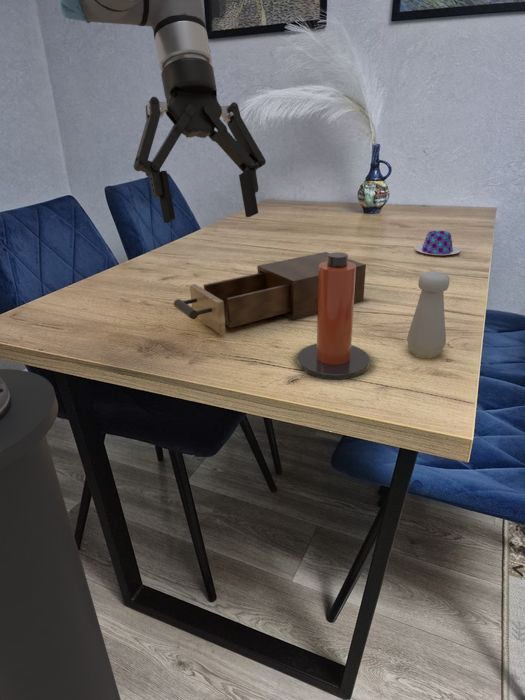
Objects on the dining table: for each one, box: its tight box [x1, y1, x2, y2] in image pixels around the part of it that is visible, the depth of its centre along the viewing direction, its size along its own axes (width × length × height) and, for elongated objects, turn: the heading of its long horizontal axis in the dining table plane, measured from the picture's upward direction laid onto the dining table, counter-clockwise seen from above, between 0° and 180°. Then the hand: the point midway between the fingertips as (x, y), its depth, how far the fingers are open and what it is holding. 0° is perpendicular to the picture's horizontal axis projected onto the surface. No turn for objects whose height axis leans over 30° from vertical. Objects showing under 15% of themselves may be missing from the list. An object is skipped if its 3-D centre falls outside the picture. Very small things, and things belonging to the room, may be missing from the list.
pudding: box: [413, 230, 461, 257], centre depth 128 cm, size 12×12×5 cm
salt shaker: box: [406, 270, 450, 360], centre depth 72 cm, size 6×6×13 cm
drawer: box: [173, 272, 291, 335], centre depth 87 cm, size 21×11×6 cm, turn 122°
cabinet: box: [256, 251, 367, 321], centre depth 96 cm, size 18×13×8 cm
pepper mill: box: [316, 251, 356, 365], centre depth 69 cm, size 5×5×16 cm
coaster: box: [296, 343, 371, 380], centre depth 73 cm, size 11×11×1 cm
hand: (212, 218), depth 70 cm, fingers open, 13 cm apart
